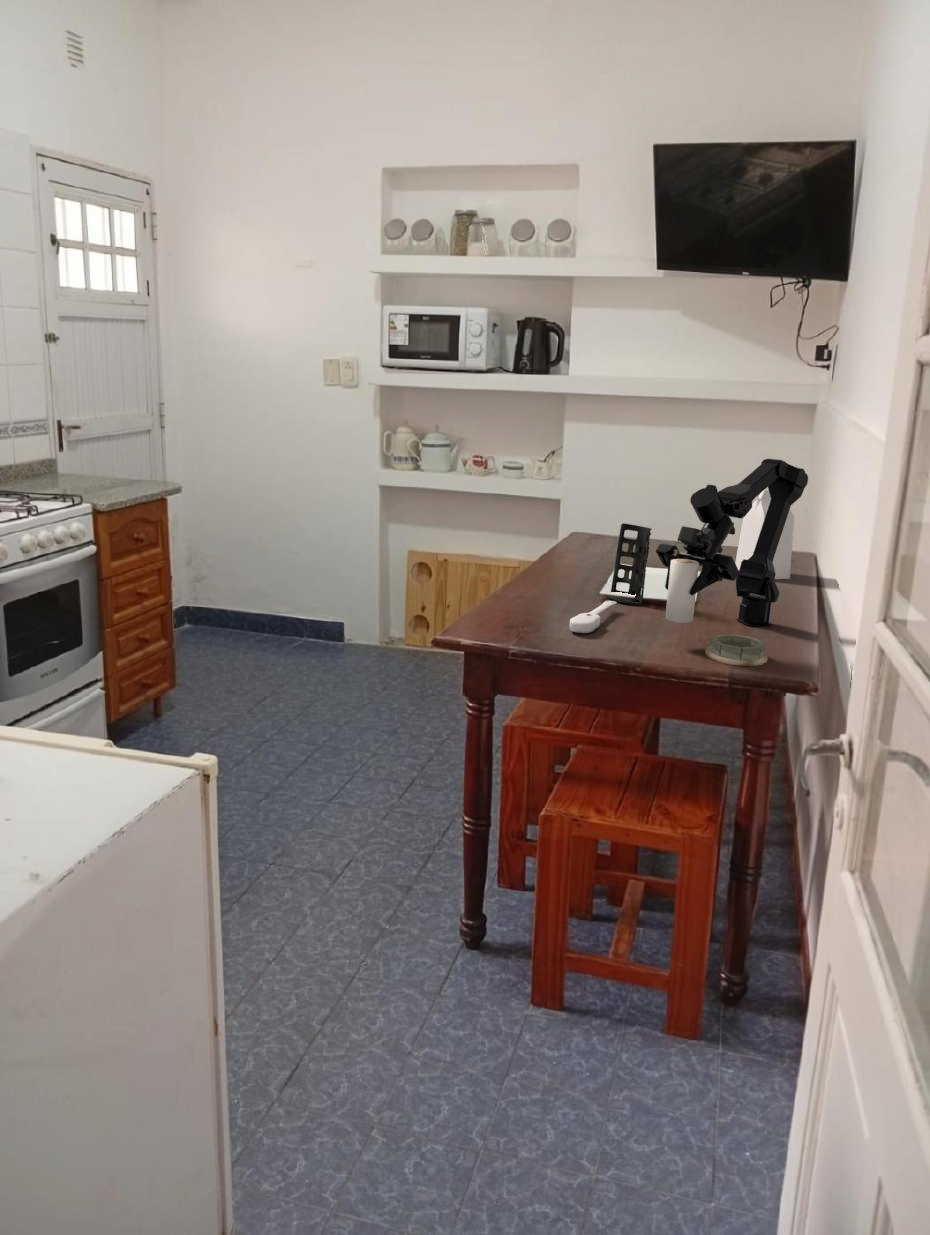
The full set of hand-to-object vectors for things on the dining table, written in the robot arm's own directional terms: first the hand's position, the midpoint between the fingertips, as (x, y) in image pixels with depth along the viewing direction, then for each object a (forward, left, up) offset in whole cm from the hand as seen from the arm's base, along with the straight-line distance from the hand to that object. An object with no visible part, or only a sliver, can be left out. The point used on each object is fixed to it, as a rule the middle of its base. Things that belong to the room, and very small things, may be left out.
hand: (678, 591), depth 217 cm
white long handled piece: (+10, -21, -13) cm, 27 cm away
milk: (-65, -69, -13) cm, 96 cm away
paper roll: (-1, -1, -7) cm, 7 cm away
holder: (-8, -41, -13) cm, 44 cm away
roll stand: (-10, +10, -12) cm, 19 cm away
